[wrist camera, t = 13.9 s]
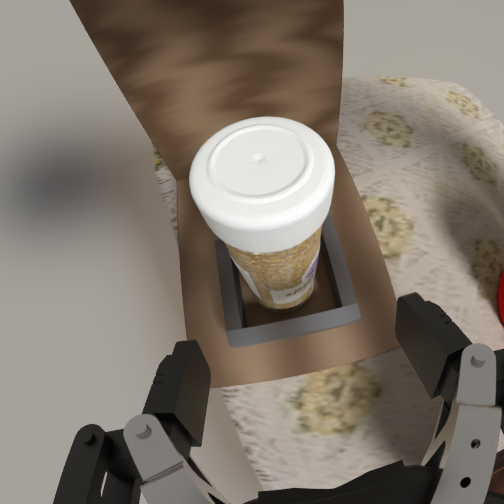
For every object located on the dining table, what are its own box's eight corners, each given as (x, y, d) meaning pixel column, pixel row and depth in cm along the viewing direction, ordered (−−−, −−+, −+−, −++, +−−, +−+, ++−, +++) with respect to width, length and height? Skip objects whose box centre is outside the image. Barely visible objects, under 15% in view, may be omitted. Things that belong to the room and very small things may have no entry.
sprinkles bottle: (309, 318, 19) (334, 235, 6) (246, 308, 20) (164, 218, 7) (317, 258, 20) (336, 115, 8) (258, 251, 21) (208, 112, 9)
